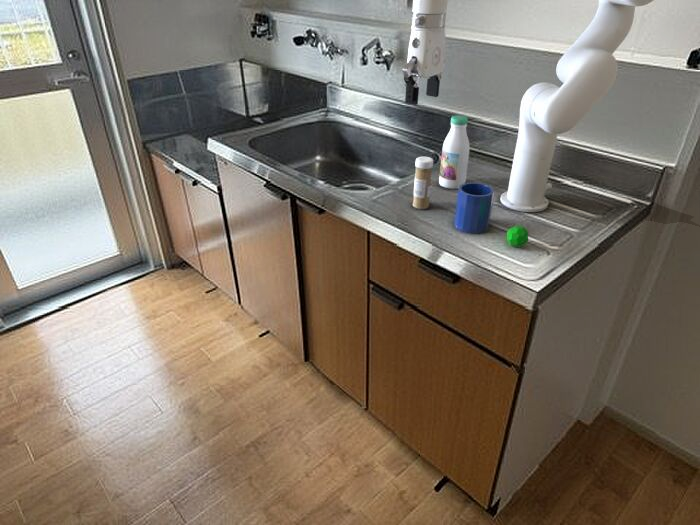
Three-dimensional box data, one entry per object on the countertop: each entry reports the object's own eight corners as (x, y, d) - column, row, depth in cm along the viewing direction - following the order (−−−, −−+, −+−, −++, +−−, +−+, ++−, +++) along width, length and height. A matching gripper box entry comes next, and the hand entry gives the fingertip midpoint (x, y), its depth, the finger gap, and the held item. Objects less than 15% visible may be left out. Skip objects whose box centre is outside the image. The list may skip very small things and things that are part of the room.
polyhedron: (522, 240, 118) (526, 222, 116) (529, 250, 114) (533, 232, 112) (502, 240, 118) (505, 222, 116) (508, 250, 114) (511, 232, 112)
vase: (469, 215, 130) (474, 179, 124) (494, 227, 124) (501, 190, 119) (447, 224, 125) (451, 187, 120) (472, 237, 120) (478, 199, 114)
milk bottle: (456, 177, 151) (464, 112, 141) (469, 187, 145) (479, 119, 135) (434, 181, 149) (440, 114, 138) (447, 191, 143) (454, 122, 132)
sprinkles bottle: (432, 207, 134) (437, 159, 127) (419, 211, 132) (423, 163, 125) (421, 201, 137) (425, 154, 130) (408, 205, 135) (412, 157, 128)
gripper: (423, 26, 102) (416, 110, 112) (461, 19, 114) (452, 95, 123) (393, 24, 106) (389, 104, 115) (433, 17, 118) (426, 91, 127)
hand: (422, 99), depth 119 cm, fingers open, 9 cm apart
